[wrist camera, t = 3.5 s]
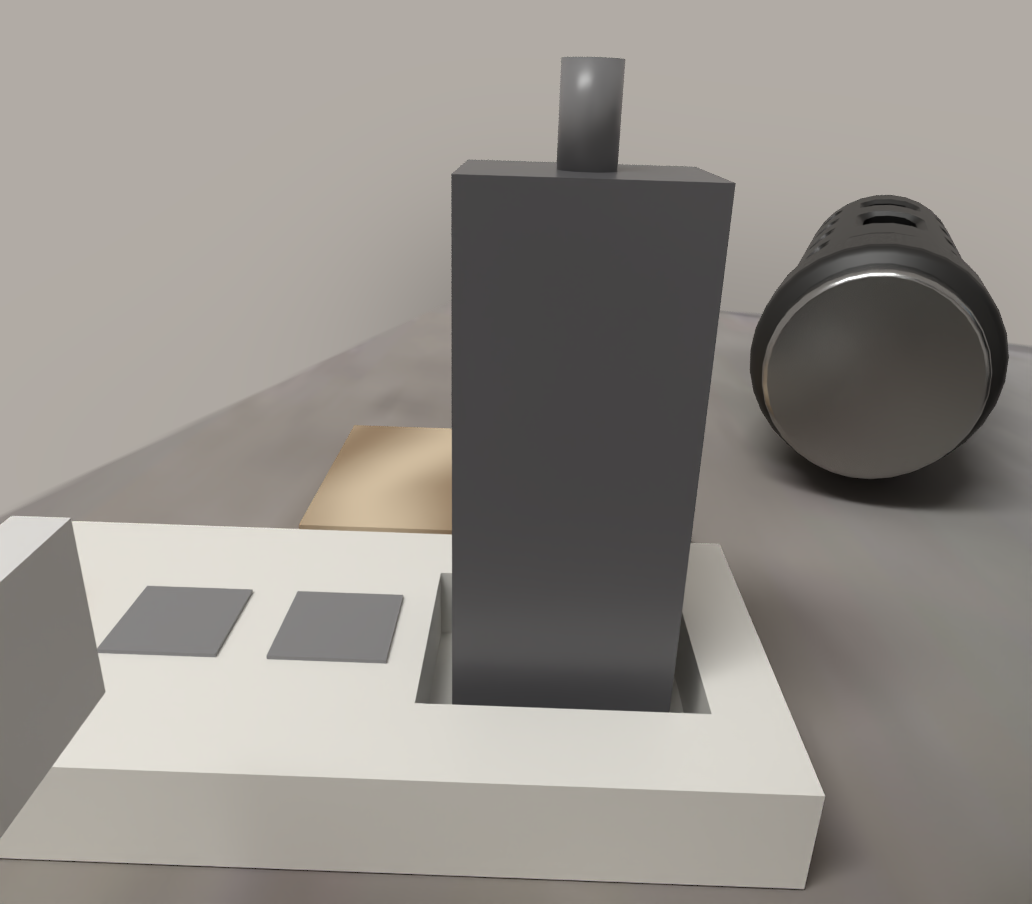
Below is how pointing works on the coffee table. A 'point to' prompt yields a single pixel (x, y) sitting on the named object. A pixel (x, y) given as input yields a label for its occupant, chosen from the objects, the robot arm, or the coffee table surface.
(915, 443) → the muzzle brake
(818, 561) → the coffee table surface
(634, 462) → the grey rectangular pillar
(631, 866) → the socket block
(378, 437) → the wooden board
